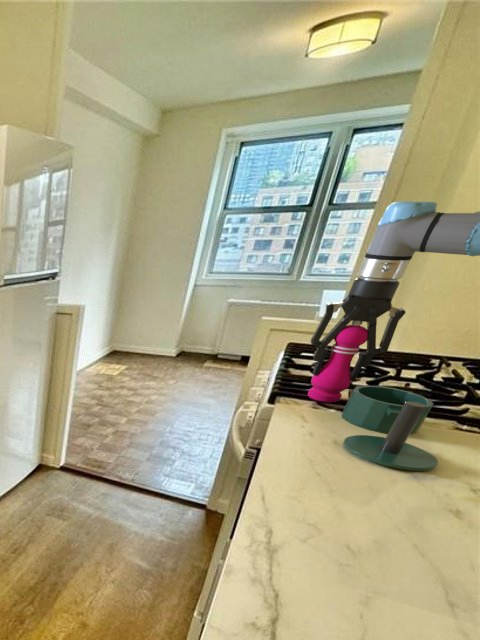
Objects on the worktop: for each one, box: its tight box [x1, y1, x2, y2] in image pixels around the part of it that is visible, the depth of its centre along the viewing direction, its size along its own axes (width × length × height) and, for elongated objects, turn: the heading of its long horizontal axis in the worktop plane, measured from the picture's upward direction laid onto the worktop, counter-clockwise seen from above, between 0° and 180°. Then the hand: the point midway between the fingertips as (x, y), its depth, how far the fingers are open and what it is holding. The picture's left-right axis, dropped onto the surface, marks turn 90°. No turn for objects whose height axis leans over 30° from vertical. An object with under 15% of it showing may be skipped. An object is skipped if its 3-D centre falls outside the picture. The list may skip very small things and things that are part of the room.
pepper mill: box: [307, 320, 368, 404], centre depth 117 cm, size 7×7×20 cm
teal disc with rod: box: [342, 401, 439, 472], centre depth 94 cm, size 14×14×11 cm
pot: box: [341, 385, 434, 436], centre depth 108 cm, size 13×18×6 cm
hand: (333, 376), depth 119 cm, fingers closed on pepper mill, 6 cm apart
